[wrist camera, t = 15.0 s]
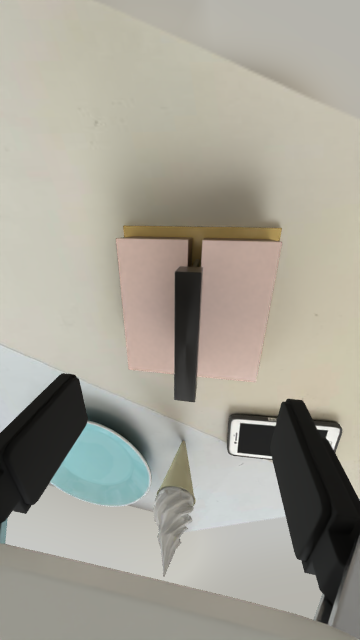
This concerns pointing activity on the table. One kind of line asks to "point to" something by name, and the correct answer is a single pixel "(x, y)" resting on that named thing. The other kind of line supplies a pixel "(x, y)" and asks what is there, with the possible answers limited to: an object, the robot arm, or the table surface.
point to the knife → (187, 330)
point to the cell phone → (266, 435)
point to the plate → (103, 469)
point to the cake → (217, 295)
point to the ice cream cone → (174, 505)
